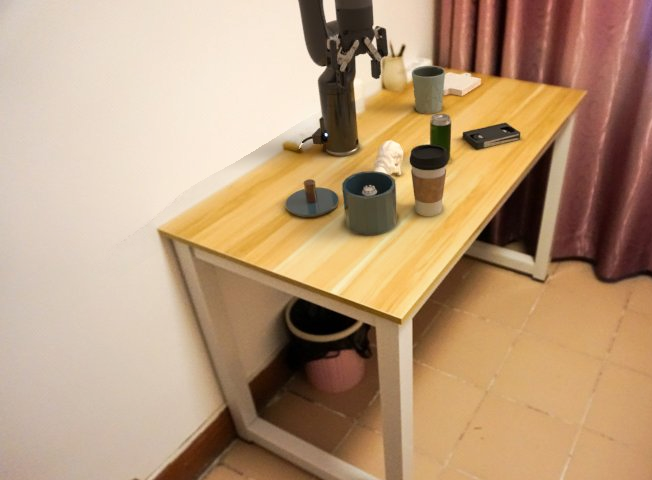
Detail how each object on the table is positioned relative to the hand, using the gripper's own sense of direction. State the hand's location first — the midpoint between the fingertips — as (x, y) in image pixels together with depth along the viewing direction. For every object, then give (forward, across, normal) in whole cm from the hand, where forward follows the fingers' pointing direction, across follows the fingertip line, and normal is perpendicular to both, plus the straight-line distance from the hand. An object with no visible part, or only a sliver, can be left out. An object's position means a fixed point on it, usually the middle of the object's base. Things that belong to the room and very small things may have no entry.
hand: (359, 82), depth 118 cm
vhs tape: (+26, -42, +1) cm, 50 cm away
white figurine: (+26, -6, 0) cm, 27 cm away
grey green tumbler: (+26, -43, -28) cm, 57 cm away
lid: (+26, +15, -2) cm, 29 cm away
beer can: (+26, -23, +1) cm, 35 cm away
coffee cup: (+26, -5, +18) cm, 32 cm away
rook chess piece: (+26, +8, +13) cm, 30 cm away
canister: (+26, +8, +13) cm, 30 cm away
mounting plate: (+26, -62, -36) cm, 77 cm away
